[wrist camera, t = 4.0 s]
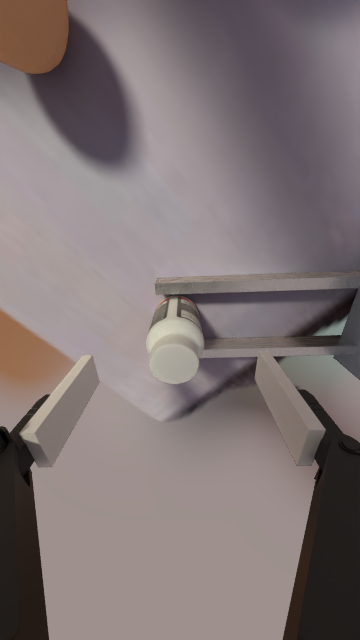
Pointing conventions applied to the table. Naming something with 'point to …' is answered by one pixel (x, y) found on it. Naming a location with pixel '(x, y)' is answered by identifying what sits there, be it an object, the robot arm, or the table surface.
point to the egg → (33, 34)
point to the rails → (267, 283)
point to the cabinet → (352, 338)
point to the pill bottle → (175, 340)
